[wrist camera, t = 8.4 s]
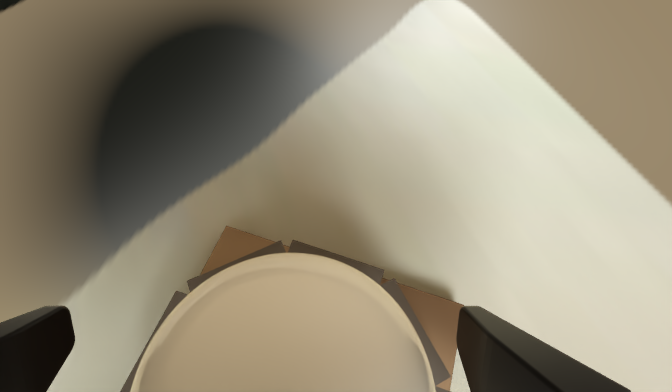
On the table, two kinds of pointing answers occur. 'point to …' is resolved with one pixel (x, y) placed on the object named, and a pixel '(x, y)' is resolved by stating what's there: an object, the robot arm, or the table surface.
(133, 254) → the table surface
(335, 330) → the lightbulb
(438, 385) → the bulb holder
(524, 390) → the robot arm
